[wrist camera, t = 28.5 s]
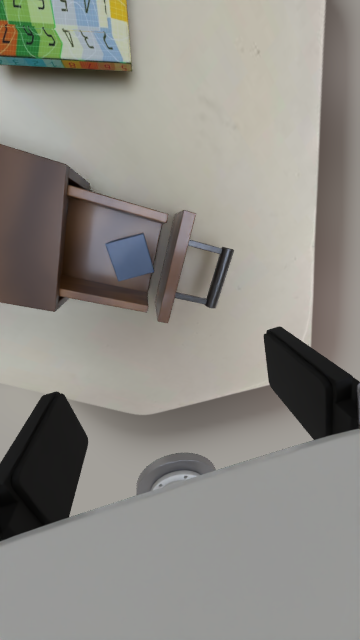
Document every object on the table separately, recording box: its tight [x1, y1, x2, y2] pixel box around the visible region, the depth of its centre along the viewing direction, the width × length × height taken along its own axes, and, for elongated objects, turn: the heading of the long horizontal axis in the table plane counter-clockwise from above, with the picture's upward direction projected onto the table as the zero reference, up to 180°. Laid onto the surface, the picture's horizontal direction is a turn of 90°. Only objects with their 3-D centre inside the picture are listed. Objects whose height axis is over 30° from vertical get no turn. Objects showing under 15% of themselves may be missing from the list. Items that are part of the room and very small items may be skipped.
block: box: [105, 233, 154, 281], centre depth 26 cm, size 4×4×4 cm
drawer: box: [59, 185, 234, 323], centre depth 26 cm, size 19×11×7 cm, turn 75°
